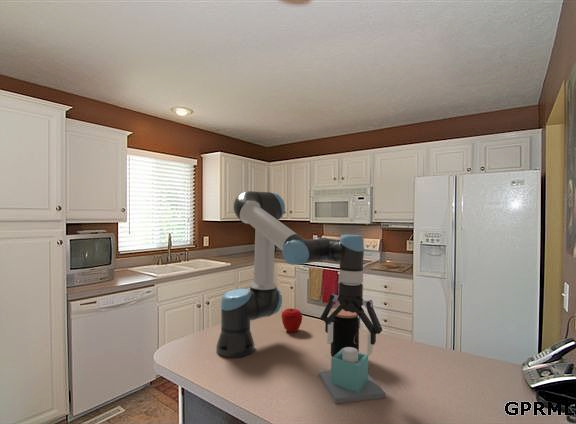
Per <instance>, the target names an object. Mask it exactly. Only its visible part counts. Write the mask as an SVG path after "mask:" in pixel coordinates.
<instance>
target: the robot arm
mask: <svg viewBox="0 0 576 424" xmlns="http://www.w3.org/2000/svg"><path fill="white" fill-rule="evenodd" d="M285 207H286V205H285V202H284V199H283V198H282V196H280V194H279V193H275V192H269V191H268V192H267V191H266V192H265V191H252V190H247V191H243V192H241V193H240V194H238V196H236V198H235V200H234V202H233V212H234V214H235V216H236V218H238V219H239V220H240V221H241V222H242V223H244V224H248V225H250V226H251V227H252V228H253V229H255V230H254V231H255V235H254V236H255V237H254V264H253V265H254V268H253V282H252V283H251V284H250V286H249V287H250V288H249V289H247V288H239V289H237V288H236V289H233V290H229V291H227V292H226V293H223V296H222V298H221V305H220V308H221V312H220V313H221V314H220V315H221V316H220V319H221V320H220V321H221V323H220V327H221V328H220V334H219V336H218V340H217V344H216V346H215V347H216V348H215V349H216V351H215V352H216V353H217V354H218V355H219V356H221V357H223V358H231V359H233V358H234V359H235V358H242V357H246V356H249V355H251V354H252V353H253V352H254V351H255V341H254V338H253V335H252V332H251V322H252V321H255V320H257V319H261V318H267V317H271V316H272V315H275V314H277V313H278V312H279V311H280V310H281V307H282V303H283V296H282V294H281V291H280V289H279V288H278V285H277V284H276V283H275V282H274V278H275V277H274V275H275V273H274V271H275V246H276V247H277V248H278V249H279V250H281V251H282V256H283V258H284V261H285V262H286V263H287V264H289V265H293V266H295V265H298V266H301V265H304V264H310V263H311V264H312V263H318V262H319V263H321V262H326V261H330V262H337V263H339V275H338V276H339V277H338V281H339V283H338V284H339V285H338V294H336V293H332V294H330V295H329V298H328V302H327V304H326V306H325V308H324V309H323V311H322V313H321V316H320V318H319V320H321V321H322V322H324V323H325V325H324V326H325V333H326V334H327V338H326V339H327V341H326V344H327V345H331V343H332V342H333V322H331V321H332V320H333V319H334V318H335V316H336V315H337V314H338V313H339V312H340V311H341V310H342V309H343V310H345V311H349V312H351V313H354V312H356V314H357V315H358V318H359V319H361V321H362V323H363V325H364V326H365V327H366V329H367V330H368V333H367V349H366V350H367V351H366V354H367V355H368V357H369V356H371V355H372V354H373V348H374V347H373V345H375V344H376V342H377V341H376V340H377V334H378V335H379V334H381V333H382V332H383V328H382V325H381V323H380V320H379V318H378V316H377V313H376V311H375V309H374V305H373V304H374V303H373V300H372V299H370V300H364V298H363V296H364V295H363V293H364V289H363V288H364V284H363V282H364V253H365V247H364V246H365V244H364V242H365V241H364V237H363V236H362V235H360V234H347V233H346V234H341V235H340V238H339V239H336V238H335V239H334V238H328V237H316V238H314V239H305V238H303V237H302V236H301V235H299V234H297V232H295V231H293V230H292V229H291V228H289V227H288V226H287V225H285V224H284V223H283V222H281V221H280V219H281V218H283V216H284V215H285V211H286V208H285ZM336 302H338V303H339V305H338V306H337V307H336V308H337V309H336V310H335V311H334V312H333V313H330V311H331V310H332V309H333V306H334V304H335V303H336ZM363 305H364V308H366V310H367V314H368V315H367V314H366V312H365V309H364V308H363V307H362V306H363ZM329 314H330V315H329ZM328 315H329V316H328ZM368 316H369V317H368Z"/></svg>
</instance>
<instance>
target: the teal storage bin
mask: <svg viewBox="0 0 576 424" xmlns="http://www.w3.org/2000/svg"><path fill="white" fill-rule="evenodd" d="M342 349H343V348H342ZM342 349H341V350H340V351H339V352H338V353H337V354H336V355H335V356H333V357H332V356H331V358H330V359H331V362H330V363H331V365H330V369H331V384H334V385H337V386H340V387H343V388H346V389H349V390H352V391H355V392H359V391H360V390H361V388H362V387H363V386H364V384H365V383H366V382H367V380H368V374H369V355H367V353H362V352H360V351H359V352H358V363H357V364H355V363H352V362H348V361H345V360H342Z"/></svg>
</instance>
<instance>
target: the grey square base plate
mask: <svg viewBox="0 0 576 424" xmlns="http://www.w3.org/2000/svg"><path fill="white" fill-rule="evenodd" d="M342 360H345V361H348V362H352V363H355V364H357V363H358V350H357V349H356V348H353V347H345V348H343V349H342ZM318 377H319V379H320V381H321V382H322V384H323V386H324V387H325V389H326V391H327V392H328V394H329V395H330V397H331V400H332V401H333V402H334V404H344V403H345V404H346V403H351V402H354V403H355V402H359V401H360V402H362V401H369V400H378V399H386V391H384V390H383V388H382V387H381V386H380V385H379V384H378V383H377V382H376V381H375V380H374V379H373V378H372V376H370V374H369V373H368V380H367V382H366V383H365V384H364V386H363V387H362V388H361V390H360V391H359V392H355V391H352V390H349V389H346V388H343V387H340V386H337V385H334V384H331V370H321V371H318Z"/></svg>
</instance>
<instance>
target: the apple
mask: <svg viewBox="0 0 576 424" xmlns="http://www.w3.org/2000/svg"><path fill="white" fill-rule="evenodd" d="M281 320H282V325H283V327H284V329H285V330H286V331H287V332H288V333H295V332H297V331H298V330H299V328H301V327H300V326H301V325H302V322H303V314H302V312H301V311H300V310H299V309H296V308H285V309H284V310H283V311H282V312H281Z"/></svg>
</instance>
